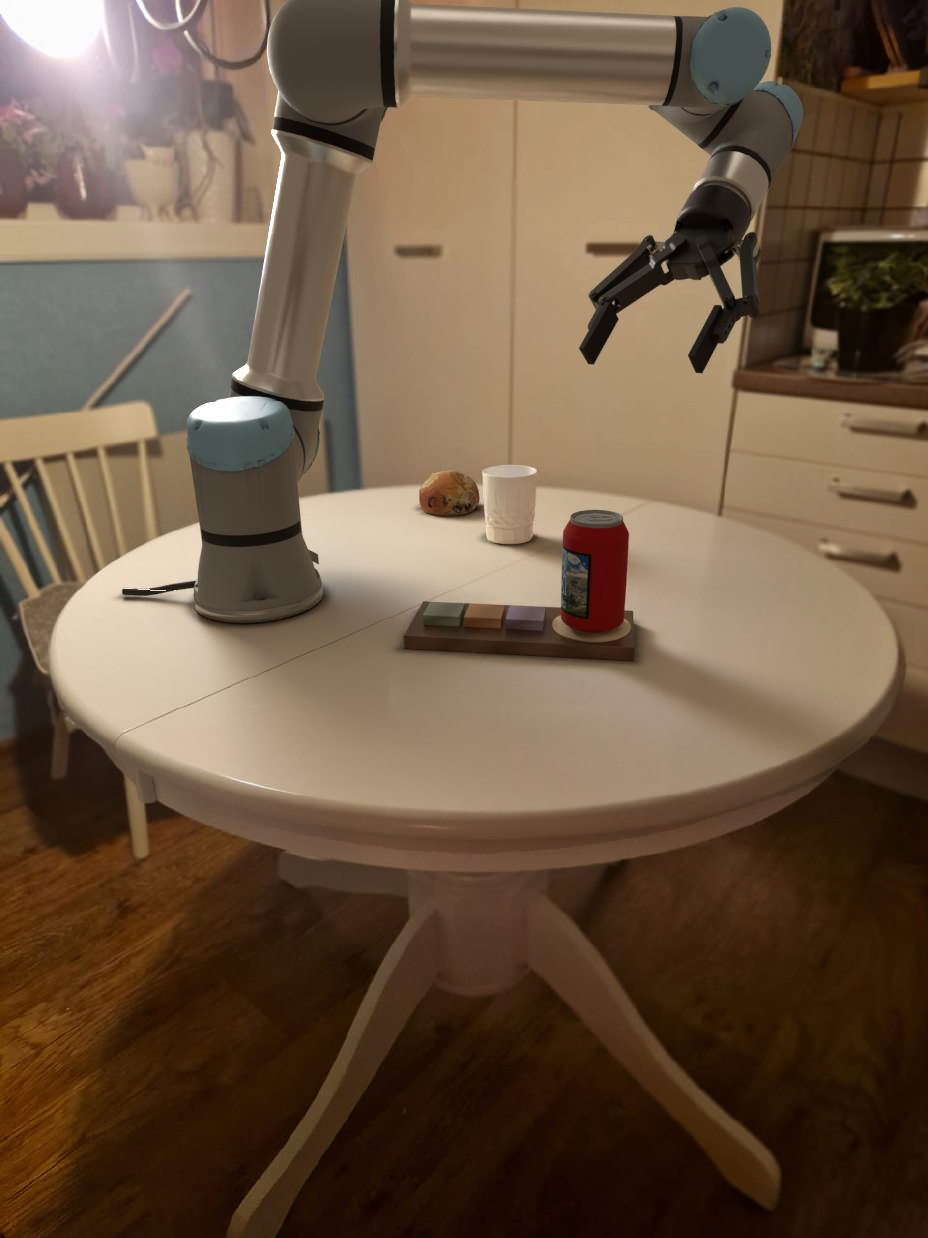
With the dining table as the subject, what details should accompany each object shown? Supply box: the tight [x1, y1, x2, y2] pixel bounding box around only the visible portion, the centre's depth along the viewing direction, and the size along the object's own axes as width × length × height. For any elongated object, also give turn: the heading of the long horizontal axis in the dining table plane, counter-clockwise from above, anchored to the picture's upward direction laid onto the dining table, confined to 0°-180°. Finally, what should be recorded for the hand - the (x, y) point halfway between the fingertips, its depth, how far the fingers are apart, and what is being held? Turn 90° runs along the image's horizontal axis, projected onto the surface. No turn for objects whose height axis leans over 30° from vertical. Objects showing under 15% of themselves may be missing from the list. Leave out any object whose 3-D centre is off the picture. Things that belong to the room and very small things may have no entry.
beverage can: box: [560, 509, 630, 634], centre depth 90 cm, size 7×7×12 cm
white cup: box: [481, 464, 538, 545], centre depth 125 cm, size 8×8×10 cm
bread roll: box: [418, 469, 481, 517], centre depth 142 cm, size 10×10×8 cm
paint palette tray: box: [403, 600, 636, 662], centre depth 94 cm, size 24×10×3 cm, turn 81°
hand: (637, 360), depth 92 cm, fingers open, 13 cm apart
